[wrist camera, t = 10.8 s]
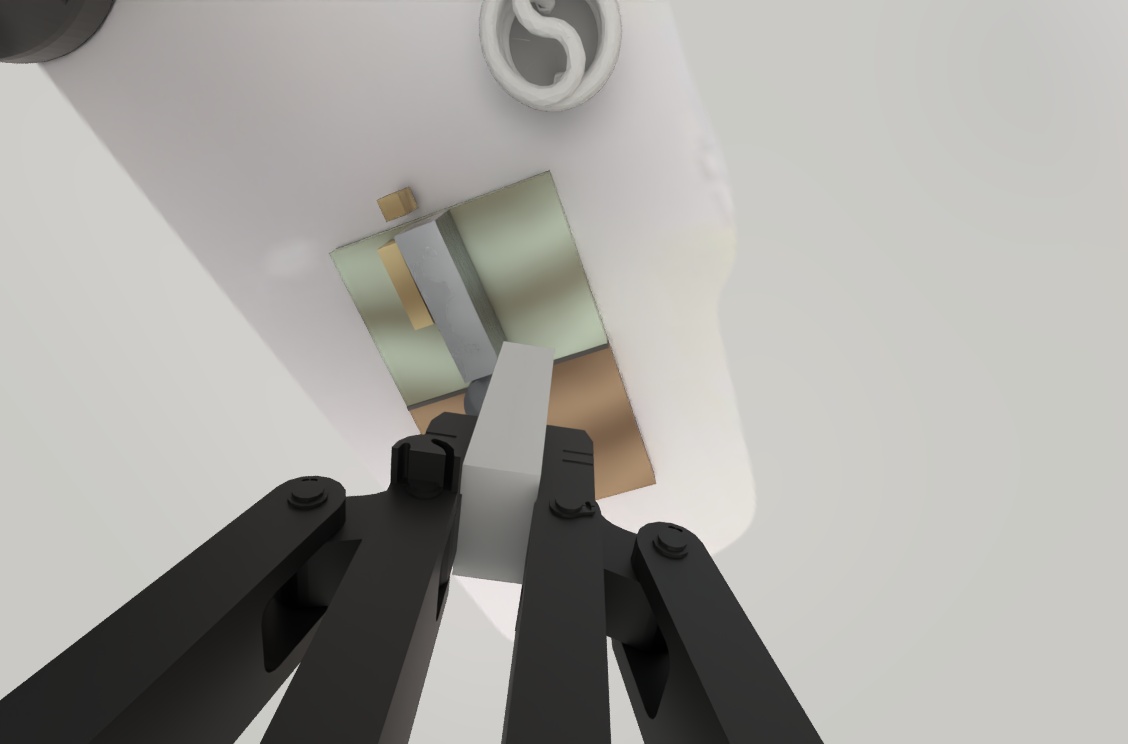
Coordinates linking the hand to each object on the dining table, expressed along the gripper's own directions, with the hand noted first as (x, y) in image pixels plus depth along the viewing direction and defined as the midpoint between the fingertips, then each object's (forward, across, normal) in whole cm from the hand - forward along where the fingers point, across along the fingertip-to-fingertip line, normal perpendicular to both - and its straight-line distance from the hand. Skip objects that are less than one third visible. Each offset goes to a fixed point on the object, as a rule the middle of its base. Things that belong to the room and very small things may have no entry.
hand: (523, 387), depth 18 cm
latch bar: (+19, -4, -5) cm, 20 cm away
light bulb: (+21, -1, +10) cm, 23 cm away
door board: (+21, -2, -9) cm, 23 cm away
